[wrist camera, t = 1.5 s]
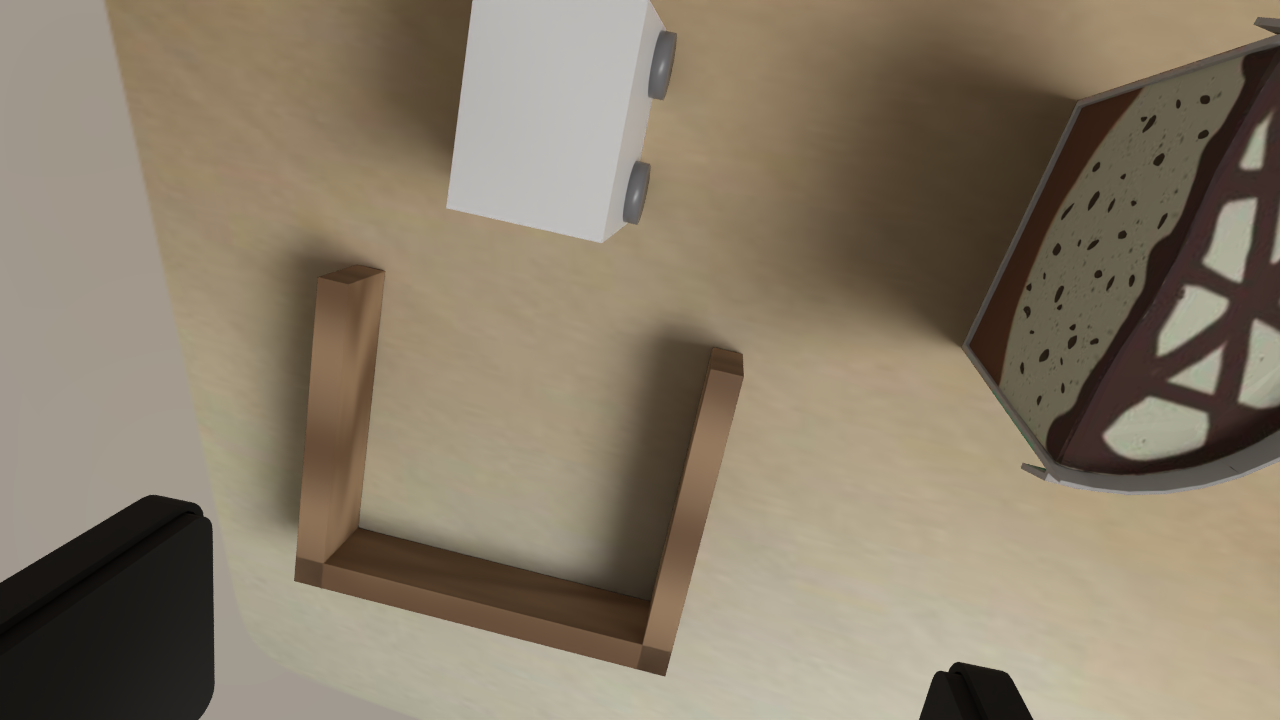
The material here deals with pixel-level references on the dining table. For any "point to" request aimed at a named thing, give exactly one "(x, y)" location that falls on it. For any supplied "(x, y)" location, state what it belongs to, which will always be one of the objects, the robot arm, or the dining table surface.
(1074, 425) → the food container
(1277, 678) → the dining table surface
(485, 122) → the block
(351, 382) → the bay
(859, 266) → the dining table surface
